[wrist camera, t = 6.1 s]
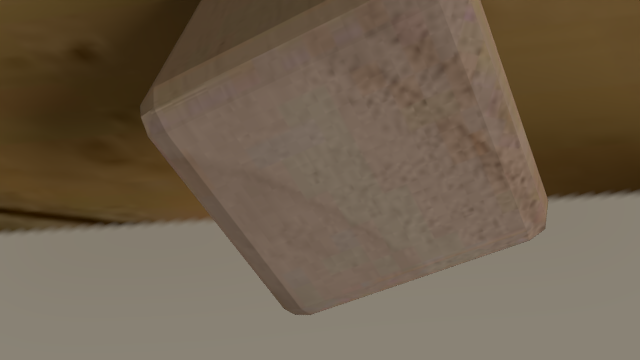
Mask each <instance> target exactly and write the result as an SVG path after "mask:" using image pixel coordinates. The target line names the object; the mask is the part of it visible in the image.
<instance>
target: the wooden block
mask: <svg viewBox="0 0 640 360" xmlns="http://www.w3.org/2000/svg"><path fill="white" fill-rule="evenodd" d="M140 113H141V119H142V121H143V124H144V127H145V129H146V132H147V135H148V137H149V138H150V140H151V141H152V142H153V143H154V145H155V146H156V147H157V149H158V150H159V151H160V152H161V154H162V155H163V156H164V157H165V159H166V160H167V161H168V162H169V164H170V165H171V166H172V168H173V169H174V170H175V171H176V173H177V174H178V175H179V176H180V178H181V179H182V180H183V181H184V183H185V184H186V185H187V187H188V188H189V189H190V190H191V192H192V193H193V194H194V195H195V197H196V198H197V199H198V200H199V202H200V203H201V204H202V205H203V207H204V208H205V209H206V211H207V212H208V213H209V214H210V216H211V217H212V218H213V219H214V221H215V222H216V223H217V224H218V226H219V227H220V228H221V230H222V231H223V232H224V233H225V235H226V236H227V237H228V238H229V240H230V241H231V242H232V243H233V245H234V246H235V247H236V248H237V250H238V251H239V252H240V253H241V255H242V256H243V257H244V259H245V260H246V261H247V262H248V264H249V265H250V266H251V267H252V269H253V270H254V271H255V272H256V274H257V275H258V276H259V278H260V279H261V280H262V281H263V283H264V284H265V285H266V286H267V288H268V289H269V290H270V291H271V293H272V294H273V295H274V296H275V298H276V299H277V300H278V302H279V303H280V304H281V305H282V307H283V308H284V309H286V310H287V311H289V312H291V313H293V314H295V315H311V314H314V313H317V312H320V311H323V310H326V309H329V308H332V307H335V306H338V305H341V304H344V303H347V302H350V301H353V300H356V299H359V298H361V297H364V296H367V295H370V294H373V293H376V292H379V291H382V290H385V289H388V288H391V287H394V286H397V285H400V284H403V283H406V282H409V281H411V280H414V279H417V278H420V277H423V276H426V275H429V274H432V273H435V272H438V271H441V270H444V269H447V268H449V267H453V266H456V265H458V264H461V263H464V262H467V261H470V260H473V259H476V258H479V257H482V256H485V255H487V254H491V253H494V252H496V251H500V250H502V249H506V248H508V247H511V246H514V245H517V244H520V243H523V242H526V241H529V240H531V239H532V238H533V237H535V236H536V235H538V234H539V233H540V232H542V231H543V230H544V229H545V225H546V215H547V206H548V199H547V196H546V193H545V190H544V187H543V184H542V181H541V178H540V175H539V172H538V169H537V166H536V163H535V160H534V157H533V154H532V151H531V149H530V146H529V143H528V140H527V137H526V134H525V131H524V128H523V125H522V122H521V119H520V116H519V113H518V110H517V107H516V104H515V101H514V98H513V95H512V92H511V90H510V87H509V84H508V81H507V78H506V75H505V72H504V69H503V66H502V63H501V60H500V57H499V54H498V51H497V48H496V45H495V42H494V39H493V36H492V33H491V31H490V28H489V25H488V22H487V19H486V16H485V13H484V10H483V7H482V4H481V1H480V0H201V1H200V3H199V5H198V7H197V8H196V10H195V12H194V13H193V15H192V17H191V19H190V20H189V22H188V24H187V25H186V27H185V29H184V31H183V32H182V34H181V36H180V38H179V39H178V41H177V43H176V44H175V46H174V48H173V50H172V51H171V53H170V55H169V56H168V58H167V60H166V62H165V63H164V65H163V67H162V69H161V70H160V72H159V74H158V75H157V77H156V79H155V81H154V82H153V84H152V86H151V88H150V89H149V91H148V93H147V94H146V96H145V98H144V100H143V101H142V103H141V105H140Z"/></svg>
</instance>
